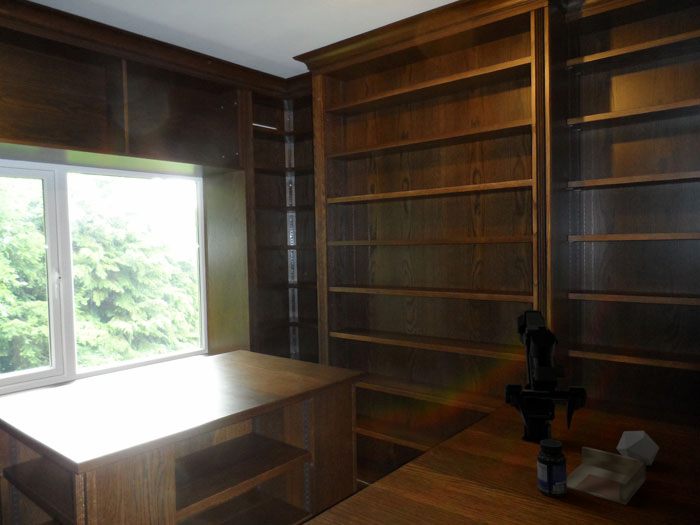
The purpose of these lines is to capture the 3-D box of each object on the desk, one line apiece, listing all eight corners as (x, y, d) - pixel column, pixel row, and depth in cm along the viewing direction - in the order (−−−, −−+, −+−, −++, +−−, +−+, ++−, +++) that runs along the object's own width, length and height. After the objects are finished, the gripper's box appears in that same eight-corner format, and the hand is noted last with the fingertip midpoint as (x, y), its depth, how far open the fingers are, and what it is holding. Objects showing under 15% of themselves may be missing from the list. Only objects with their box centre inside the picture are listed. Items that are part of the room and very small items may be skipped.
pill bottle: (567, 488, 116) (566, 440, 116) (566, 500, 111) (565, 449, 111) (538, 483, 119) (538, 436, 119) (536, 495, 113) (535, 445, 113)
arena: (559, 485, 118) (558, 466, 118) (583, 463, 129) (583, 446, 129) (625, 504, 108) (625, 484, 108) (645, 479, 120) (645, 460, 120)
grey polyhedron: (656, 476, 123) (669, 439, 126) (622, 456, 124) (636, 421, 127) (638, 474, 131) (651, 440, 134) (606, 456, 132) (619, 422, 135)
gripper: (504, 351, 128) (507, 408, 118) (585, 353, 123) (595, 412, 113) (503, 375, 136) (506, 430, 125) (579, 378, 131) (588, 436, 121)
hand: (547, 427), depth 121 cm, fingers open, 9 cm apart
